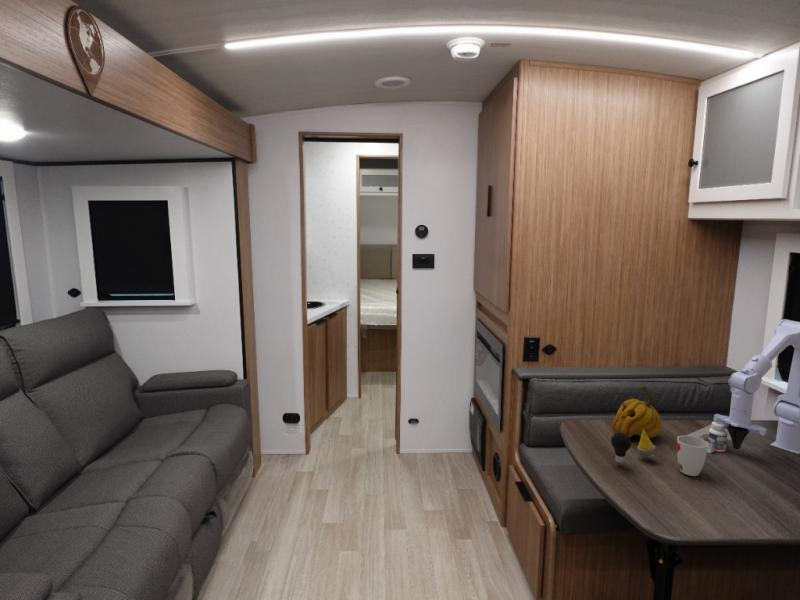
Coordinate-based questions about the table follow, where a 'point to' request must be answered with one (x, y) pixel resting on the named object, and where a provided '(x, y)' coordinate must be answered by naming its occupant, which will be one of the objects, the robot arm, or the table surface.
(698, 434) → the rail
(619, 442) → the light bulb
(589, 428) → the table surface
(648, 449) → the yellow cone
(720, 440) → the pill bottle
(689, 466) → the cup
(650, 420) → the pumpkin
